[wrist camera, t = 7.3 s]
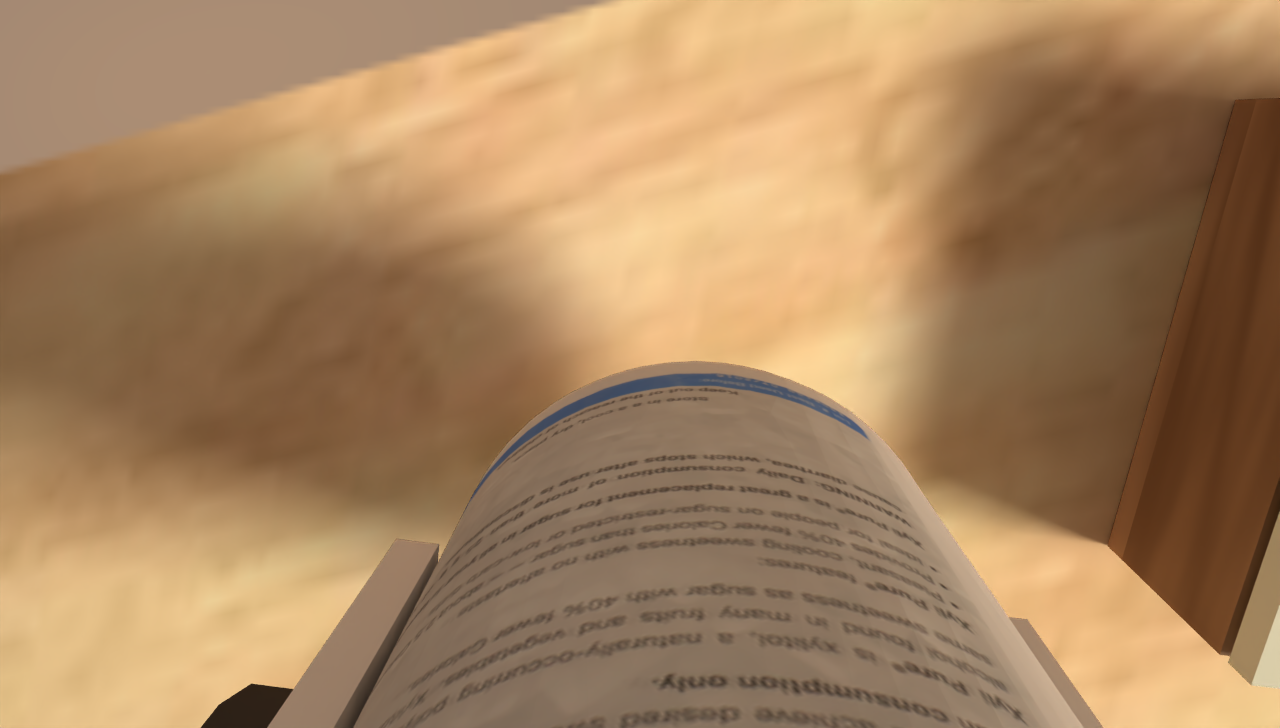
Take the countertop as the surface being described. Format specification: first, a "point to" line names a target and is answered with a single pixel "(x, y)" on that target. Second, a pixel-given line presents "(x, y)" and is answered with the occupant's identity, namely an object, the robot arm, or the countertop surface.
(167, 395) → the countertop surface
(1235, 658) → the lid
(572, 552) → the supplement tub
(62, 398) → the countertop surface
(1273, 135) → the box
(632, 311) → the countertop surface
